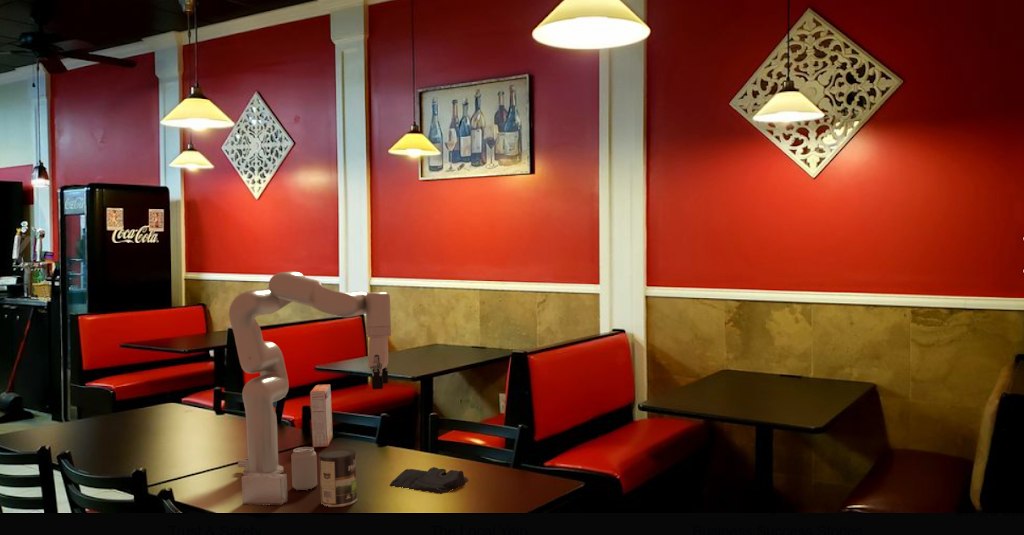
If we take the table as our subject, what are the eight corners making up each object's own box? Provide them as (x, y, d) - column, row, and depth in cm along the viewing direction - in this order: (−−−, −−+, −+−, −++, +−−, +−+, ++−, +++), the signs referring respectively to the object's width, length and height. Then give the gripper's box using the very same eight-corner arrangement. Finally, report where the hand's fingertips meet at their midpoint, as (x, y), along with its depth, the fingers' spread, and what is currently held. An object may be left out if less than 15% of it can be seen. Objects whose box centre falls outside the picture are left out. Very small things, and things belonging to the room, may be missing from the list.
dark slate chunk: (413, 474, 256) (413, 459, 256) (472, 481, 246) (472, 466, 246) (385, 487, 243) (384, 472, 243) (446, 496, 233) (446, 480, 233)
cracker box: (317, 438, 306) (315, 384, 305) (333, 437, 306) (331, 383, 306) (311, 448, 292) (309, 391, 291) (328, 447, 292) (326, 390, 292)
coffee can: (360, 495, 234) (358, 447, 234) (352, 507, 224) (351, 457, 224) (325, 496, 235) (323, 448, 234) (316, 507, 224) (314, 458, 224)
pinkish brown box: (242, 504, 229) (241, 476, 229) (249, 499, 233) (248, 472, 233) (280, 506, 227) (279, 478, 226) (287, 501, 230) (286, 474, 230)
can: (310, 492, 239) (309, 452, 239) (287, 491, 240) (286, 451, 240) (321, 484, 246) (320, 446, 246) (299, 483, 248) (297, 445, 247)
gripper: (371, 328, 257) (373, 381, 258) (361, 335, 240) (363, 391, 241) (394, 328, 257) (396, 381, 258) (386, 334, 240) (388, 390, 241)
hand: (380, 386), depth 249 cm, fingers open, 9 cm apart
